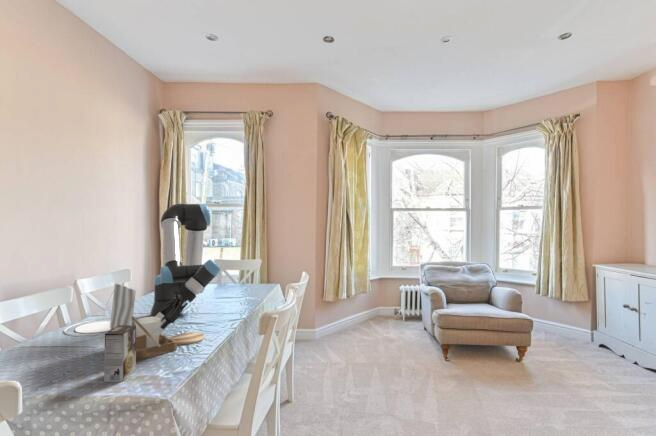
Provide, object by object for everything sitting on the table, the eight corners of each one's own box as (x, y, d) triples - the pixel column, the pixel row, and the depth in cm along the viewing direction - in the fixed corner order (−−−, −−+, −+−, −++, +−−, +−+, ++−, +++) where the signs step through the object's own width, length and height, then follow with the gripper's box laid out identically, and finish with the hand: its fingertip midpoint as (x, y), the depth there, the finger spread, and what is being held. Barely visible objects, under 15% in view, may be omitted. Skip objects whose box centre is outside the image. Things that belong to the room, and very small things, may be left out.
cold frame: (109, 349, 143) (110, 283, 143) (155, 338, 157) (156, 278, 157) (129, 363, 129) (130, 291, 129) (177, 350, 142) (178, 284, 143)
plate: (89, 340, 154) (89, 338, 154) (50, 331, 165) (50, 330, 165) (144, 323, 180) (144, 322, 180) (108, 316, 190) (108, 315, 190)
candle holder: (165, 346, 147) (166, 317, 147) (146, 354, 138) (147, 324, 138) (147, 343, 150) (148, 315, 151) (128, 351, 141) (128, 321, 141)
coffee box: (117, 370, 123) (118, 325, 123) (136, 370, 123) (137, 324, 124) (102, 382, 114) (103, 333, 114) (123, 382, 114) (124, 332, 114)
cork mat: (162, 339, 155) (162, 338, 155) (194, 331, 166) (194, 330, 166) (178, 347, 145) (178, 346, 145) (210, 339, 157) (210, 337, 157)
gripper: (204, 300, 144) (164, 344, 135) (190, 290, 165) (155, 327, 156) (191, 289, 141) (149, 332, 133) (178, 280, 162) (141, 317, 153)
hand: (152, 330), depth 144 cm, fingers open, 13 cm apart
